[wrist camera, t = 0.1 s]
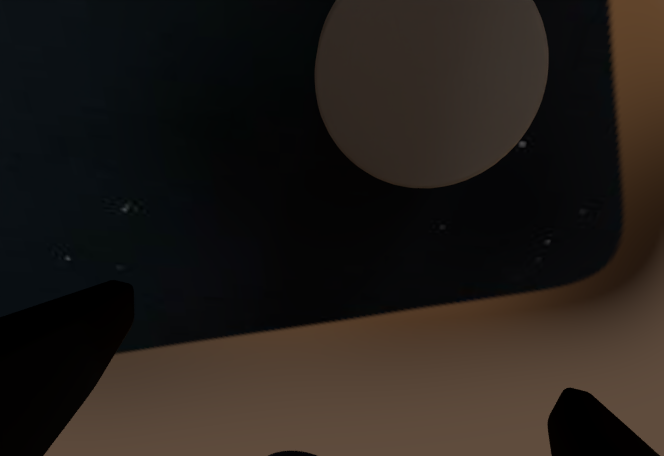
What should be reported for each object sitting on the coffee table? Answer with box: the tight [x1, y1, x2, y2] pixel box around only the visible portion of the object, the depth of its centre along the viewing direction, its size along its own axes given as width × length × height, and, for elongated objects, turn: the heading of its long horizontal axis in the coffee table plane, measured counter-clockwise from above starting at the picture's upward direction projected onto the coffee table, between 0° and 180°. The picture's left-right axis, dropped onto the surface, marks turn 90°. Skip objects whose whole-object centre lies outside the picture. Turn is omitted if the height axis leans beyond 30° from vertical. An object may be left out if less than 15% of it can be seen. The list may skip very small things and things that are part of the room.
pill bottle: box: [315, 0, 548, 188], centre depth 13 cm, size 6×6×10 cm
